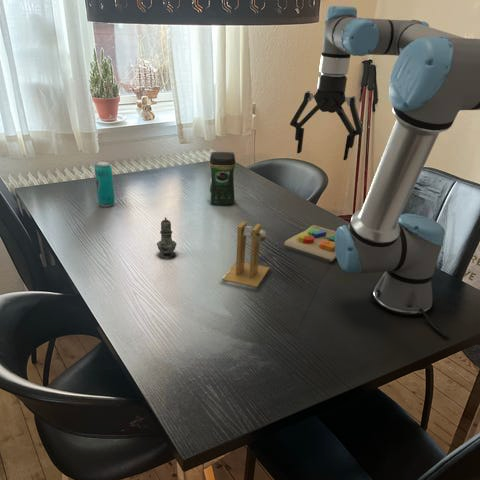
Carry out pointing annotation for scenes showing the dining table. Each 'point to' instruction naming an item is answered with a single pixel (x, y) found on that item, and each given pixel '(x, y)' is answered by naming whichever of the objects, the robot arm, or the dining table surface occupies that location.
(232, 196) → the coffee jar
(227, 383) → the dining table surface
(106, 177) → the beverage can
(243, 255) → the wooden lever stand
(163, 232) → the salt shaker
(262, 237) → the tap lever
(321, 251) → the puzzle board
